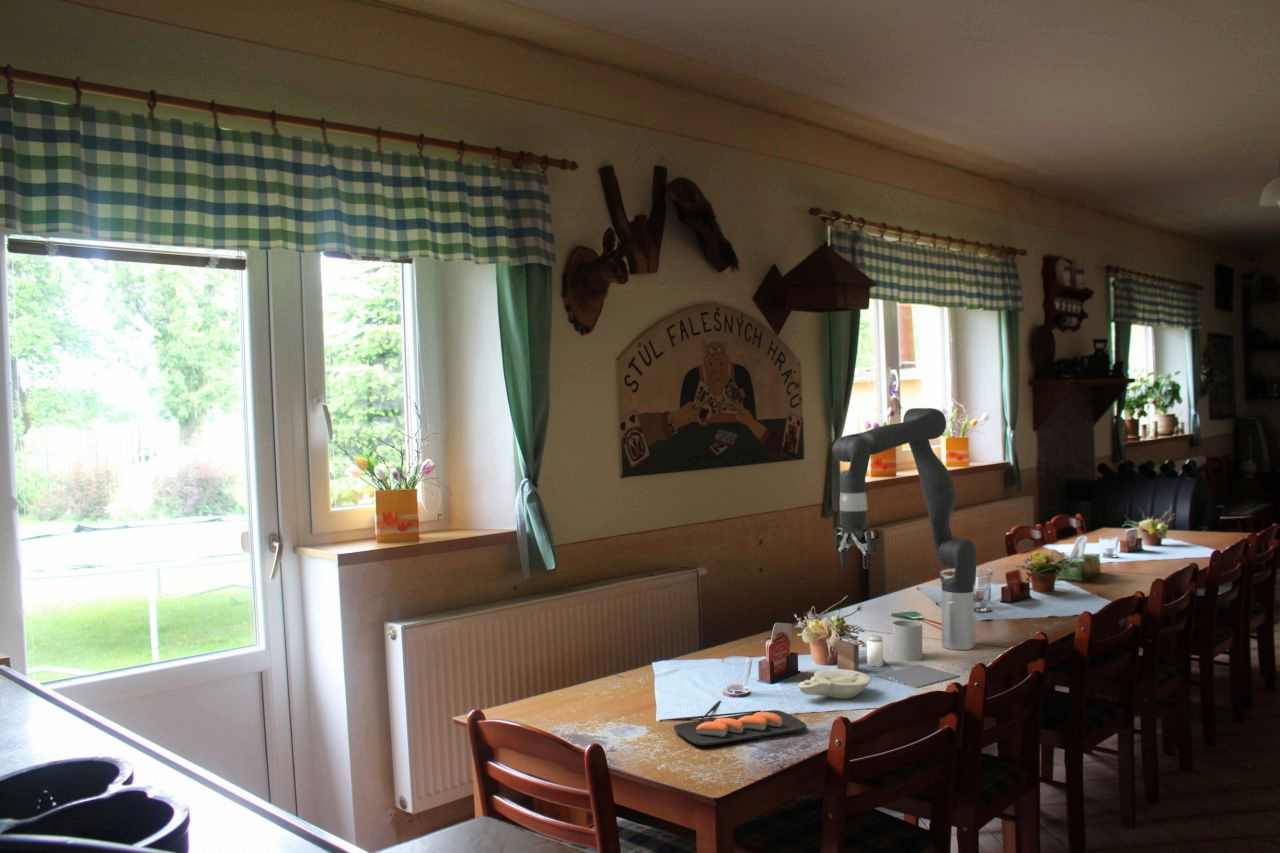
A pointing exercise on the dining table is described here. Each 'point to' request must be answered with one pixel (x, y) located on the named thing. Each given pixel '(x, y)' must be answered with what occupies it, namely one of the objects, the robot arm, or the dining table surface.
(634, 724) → the dining table surface
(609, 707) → the dining table surface
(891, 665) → the dining table surface
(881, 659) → the sugar shaker
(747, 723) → the sushi plate
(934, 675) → the felt mat
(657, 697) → the dining table surface
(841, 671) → the oil lamp
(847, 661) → the brown flat rectangular block
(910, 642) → the cup
